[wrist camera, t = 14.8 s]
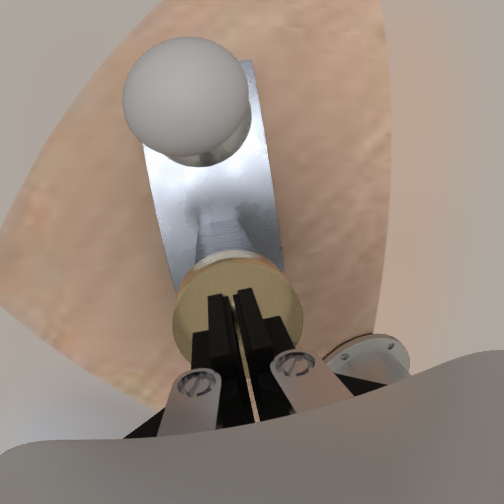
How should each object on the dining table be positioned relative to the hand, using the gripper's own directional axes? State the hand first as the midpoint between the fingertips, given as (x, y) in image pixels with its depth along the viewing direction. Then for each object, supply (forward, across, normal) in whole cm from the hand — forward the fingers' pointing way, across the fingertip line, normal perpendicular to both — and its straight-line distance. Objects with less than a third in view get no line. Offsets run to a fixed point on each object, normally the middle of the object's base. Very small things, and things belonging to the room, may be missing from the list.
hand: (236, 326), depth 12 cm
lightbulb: (+13, 0, -9) cm, 16 cm away
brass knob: (+7, 0, 0) cm, 7 cm away
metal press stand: (+15, 0, -5) cm, 16 cm away
